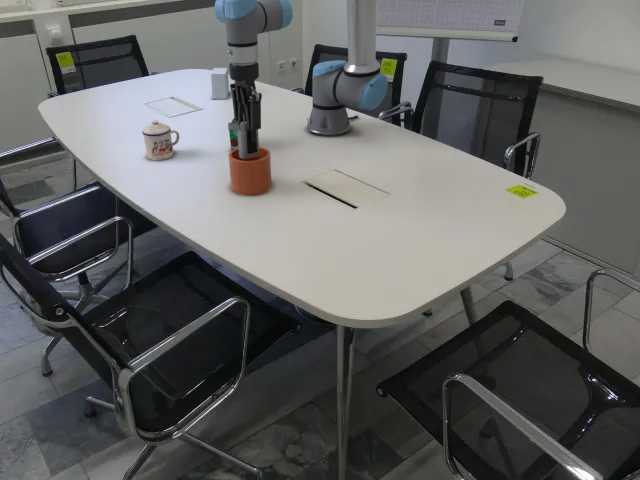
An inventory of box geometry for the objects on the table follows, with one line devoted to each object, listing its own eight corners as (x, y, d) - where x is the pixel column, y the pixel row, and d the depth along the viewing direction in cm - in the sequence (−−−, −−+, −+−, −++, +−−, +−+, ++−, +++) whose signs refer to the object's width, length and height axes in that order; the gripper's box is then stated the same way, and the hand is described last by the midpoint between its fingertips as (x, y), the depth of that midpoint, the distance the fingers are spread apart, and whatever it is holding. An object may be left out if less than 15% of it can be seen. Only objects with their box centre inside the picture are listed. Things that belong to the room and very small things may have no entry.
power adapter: (238, 156, 150) (235, 113, 143) (255, 152, 152) (252, 110, 145) (243, 159, 148) (240, 116, 141) (260, 155, 150) (258, 112, 143)
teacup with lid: (152, 163, 172) (146, 127, 165) (142, 154, 178) (136, 120, 171) (187, 154, 177) (182, 119, 170) (175, 146, 183) (170, 112, 177)
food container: (248, 153, 176) (246, 124, 170) (230, 152, 177) (227, 123, 171) (256, 140, 186) (255, 111, 180) (239, 139, 187) (237, 111, 181)
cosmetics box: (227, 99, 227) (225, 73, 221) (212, 99, 227) (210, 73, 221) (229, 92, 235) (227, 67, 230) (215, 92, 236) (212, 67, 230)
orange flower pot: (259, 174, 162) (257, 143, 156) (278, 188, 154) (277, 155, 148) (224, 184, 157) (221, 151, 151) (243, 199, 149) (240, 165, 143)
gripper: (216, 58, 140) (224, 144, 153) (245, 71, 129) (251, 162, 142) (241, 54, 143) (247, 138, 156) (272, 66, 132) (275, 156, 145)
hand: (249, 150), depth 149 cm, fingers closed on power adapter, 3 cm apart
